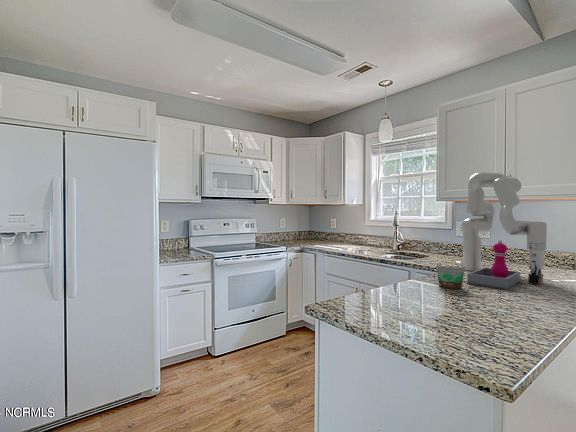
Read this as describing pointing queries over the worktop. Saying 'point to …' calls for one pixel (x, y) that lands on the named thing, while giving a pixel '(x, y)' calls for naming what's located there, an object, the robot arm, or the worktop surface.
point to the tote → (493, 279)
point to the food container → (450, 277)
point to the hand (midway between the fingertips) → (535, 281)
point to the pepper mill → (499, 261)
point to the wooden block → (540, 279)
